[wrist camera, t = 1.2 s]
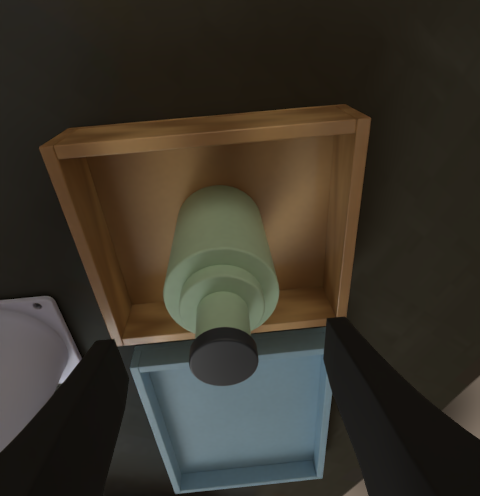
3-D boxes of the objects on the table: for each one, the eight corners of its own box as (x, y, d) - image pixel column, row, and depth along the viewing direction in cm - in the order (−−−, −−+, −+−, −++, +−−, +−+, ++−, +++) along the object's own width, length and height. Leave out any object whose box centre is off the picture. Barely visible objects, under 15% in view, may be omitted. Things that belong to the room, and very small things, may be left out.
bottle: (184, 262, 21) (164, 415, 13) (170, 188, 18) (133, 317, 10) (262, 255, 21) (295, 401, 13) (259, 180, 18) (297, 301, 10)
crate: (126, 308, 23) (113, 347, 20) (67, 127, 17) (37, 147, 14) (329, 288, 23) (345, 324, 20) (344, 103, 17) (371, 117, 14)
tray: (176, 471, 34) (175, 494, 33) (134, 345, 25) (129, 368, 23) (317, 456, 35) (322, 478, 33) (329, 326, 25) (337, 347, 23)
